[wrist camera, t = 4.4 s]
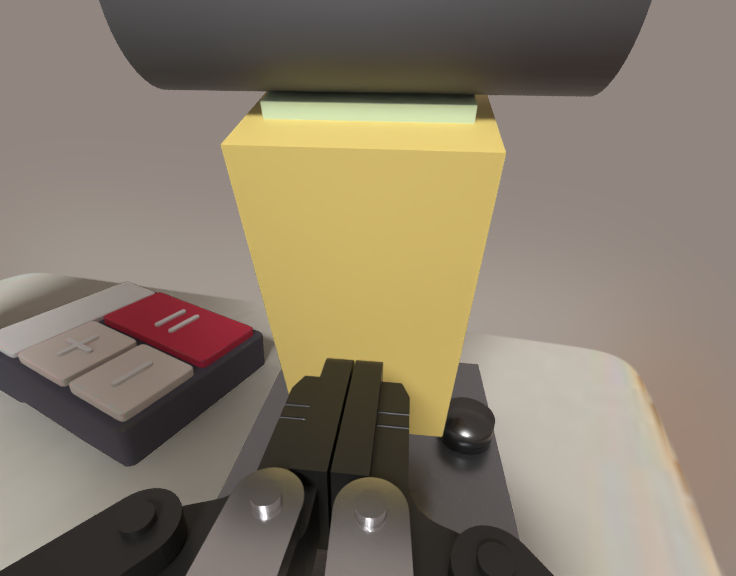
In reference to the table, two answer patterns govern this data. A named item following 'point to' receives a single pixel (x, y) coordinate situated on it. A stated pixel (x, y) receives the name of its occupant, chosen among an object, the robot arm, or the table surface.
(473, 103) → the yellow toy mallet
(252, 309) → the table surface
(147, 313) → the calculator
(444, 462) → the base
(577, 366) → the table surface
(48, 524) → the table surface
